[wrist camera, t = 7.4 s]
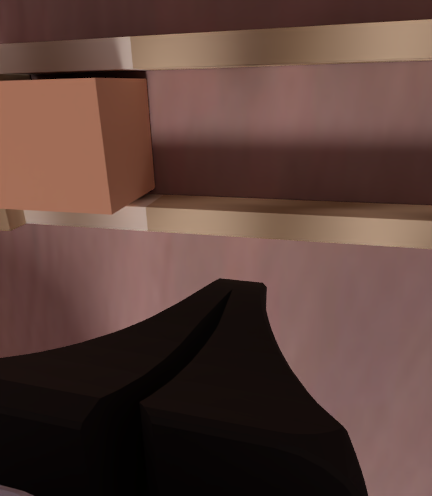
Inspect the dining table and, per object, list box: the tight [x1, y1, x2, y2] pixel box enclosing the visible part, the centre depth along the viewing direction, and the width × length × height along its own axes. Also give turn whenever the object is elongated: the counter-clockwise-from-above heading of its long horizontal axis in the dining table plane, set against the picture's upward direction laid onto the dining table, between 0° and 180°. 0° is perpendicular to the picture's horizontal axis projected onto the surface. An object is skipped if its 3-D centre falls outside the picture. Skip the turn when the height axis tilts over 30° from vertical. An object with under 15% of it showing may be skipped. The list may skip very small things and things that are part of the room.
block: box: [0, 78, 155, 215], centre depth 16 cm, size 5×4×4 cm
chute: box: [0, 19, 432, 249], centre depth 15 cm, size 18×7×3 cm, turn 92°
